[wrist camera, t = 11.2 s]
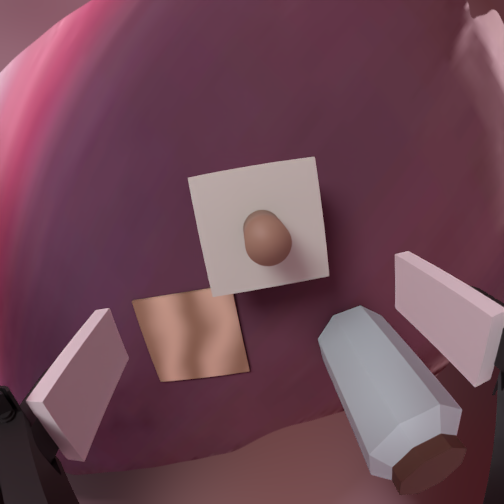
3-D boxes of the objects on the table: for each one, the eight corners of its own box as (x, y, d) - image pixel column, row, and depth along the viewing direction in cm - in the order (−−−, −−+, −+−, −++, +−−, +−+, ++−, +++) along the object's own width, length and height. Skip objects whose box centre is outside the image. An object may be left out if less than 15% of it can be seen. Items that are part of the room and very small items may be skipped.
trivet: (161, 379, 42) (160, 381, 41) (132, 300, 38) (131, 301, 38) (249, 369, 42) (249, 371, 41) (231, 284, 38) (231, 285, 38)
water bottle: (392, 333, 42) (488, 451, 18) (339, 374, 43) (401, 512, 19) (360, 287, 39) (473, 412, 15) (300, 334, 41) (358, 492, 17)
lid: (213, 292, 33) (208, 325, 26) (189, 177, 29) (175, 180, 23) (326, 272, 33) (348, 299, 26) (311, 157, 30) (333, 154, 23)
